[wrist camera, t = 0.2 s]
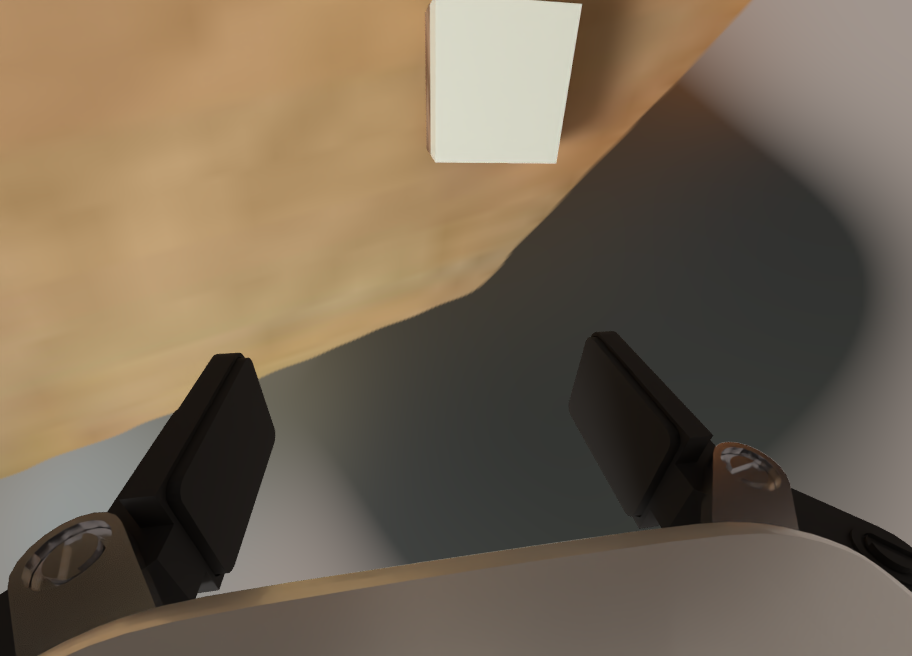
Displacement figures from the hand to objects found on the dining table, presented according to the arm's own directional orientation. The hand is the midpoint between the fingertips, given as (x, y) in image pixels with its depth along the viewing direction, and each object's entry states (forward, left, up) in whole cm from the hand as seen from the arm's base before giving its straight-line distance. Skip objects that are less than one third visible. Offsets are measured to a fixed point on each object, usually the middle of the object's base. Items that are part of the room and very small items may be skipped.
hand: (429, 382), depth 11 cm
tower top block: (-7, +8, -27) cm, 29 cm away
